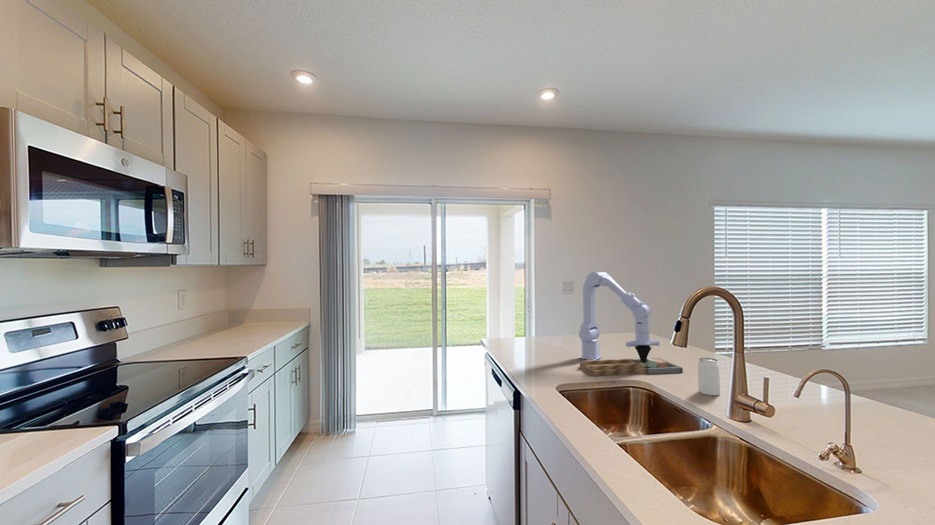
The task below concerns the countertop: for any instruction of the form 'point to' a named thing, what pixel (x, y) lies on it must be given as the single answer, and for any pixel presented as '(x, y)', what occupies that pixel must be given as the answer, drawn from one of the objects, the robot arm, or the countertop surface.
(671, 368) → the tray
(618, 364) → the brown wooden rack
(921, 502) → the countertop surface
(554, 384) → the countertop surface
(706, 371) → the can
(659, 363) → the salmon pink block
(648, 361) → the pale green upright block
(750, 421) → the countertop surface
